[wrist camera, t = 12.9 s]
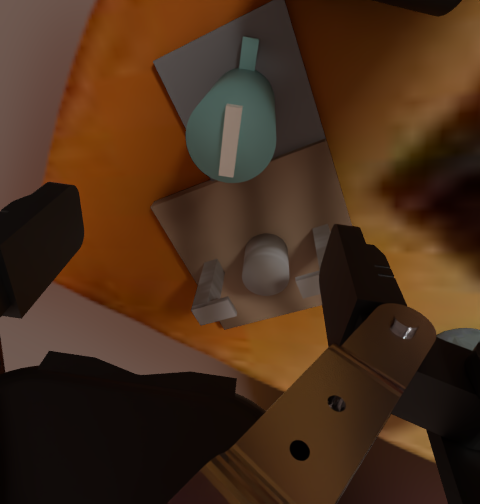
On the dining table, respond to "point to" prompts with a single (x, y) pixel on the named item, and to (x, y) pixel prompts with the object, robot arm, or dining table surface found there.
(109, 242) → the dining table surface
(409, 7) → the black lumpy shape
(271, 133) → the teal teardrop shape
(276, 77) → the mat
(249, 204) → the square mounting plate
